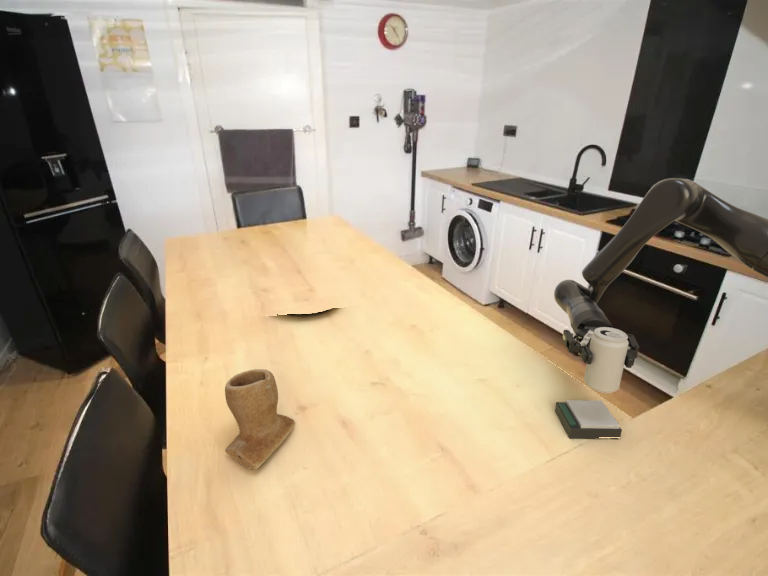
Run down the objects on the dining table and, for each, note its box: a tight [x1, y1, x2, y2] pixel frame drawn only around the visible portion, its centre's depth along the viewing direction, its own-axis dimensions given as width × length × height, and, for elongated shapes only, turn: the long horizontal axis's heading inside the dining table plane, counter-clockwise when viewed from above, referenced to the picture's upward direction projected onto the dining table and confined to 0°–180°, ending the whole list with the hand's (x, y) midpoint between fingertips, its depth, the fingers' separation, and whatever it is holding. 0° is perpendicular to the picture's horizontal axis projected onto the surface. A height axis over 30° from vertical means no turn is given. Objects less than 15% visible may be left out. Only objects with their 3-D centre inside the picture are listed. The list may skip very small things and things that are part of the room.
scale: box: [554, 399, 623, 440], centre depth 87 cm, size 10×9×3 cm
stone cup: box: [224, 368, 296, 470], centre depth 82 cm, size 15×12×15 cm
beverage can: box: [583, 327, 629, 394], centre depth 80 cm, size 6×6×12 cm
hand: (609, 361), depth 78 cm, fingers closed on beverage can, 6 cm apart
